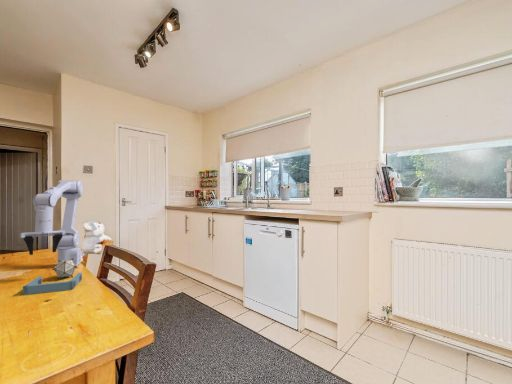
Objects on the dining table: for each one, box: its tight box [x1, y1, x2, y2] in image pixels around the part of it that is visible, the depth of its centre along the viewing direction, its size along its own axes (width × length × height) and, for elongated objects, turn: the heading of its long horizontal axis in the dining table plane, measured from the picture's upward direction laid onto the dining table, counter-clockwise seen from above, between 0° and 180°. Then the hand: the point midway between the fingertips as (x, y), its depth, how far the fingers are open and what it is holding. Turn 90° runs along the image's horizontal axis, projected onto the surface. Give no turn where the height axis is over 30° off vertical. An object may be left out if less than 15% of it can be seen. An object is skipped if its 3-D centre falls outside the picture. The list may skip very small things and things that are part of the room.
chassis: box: [22, 272, 83, 296], centre depth 98 cm, size 15×12×3 cm
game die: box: [52, 258, 79, 280], centre depth 109 cm, size 9×8×10 cm
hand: (42, 253), depth 107 cm, fingers open, 7 cm apart
